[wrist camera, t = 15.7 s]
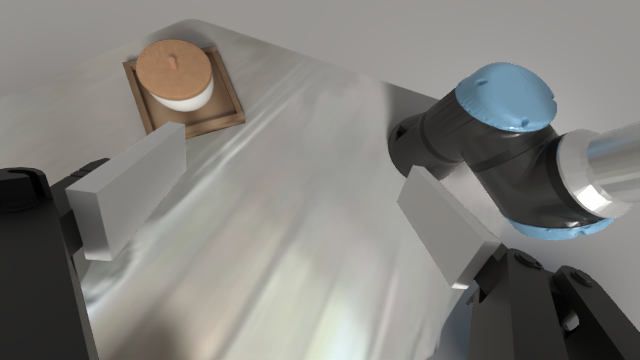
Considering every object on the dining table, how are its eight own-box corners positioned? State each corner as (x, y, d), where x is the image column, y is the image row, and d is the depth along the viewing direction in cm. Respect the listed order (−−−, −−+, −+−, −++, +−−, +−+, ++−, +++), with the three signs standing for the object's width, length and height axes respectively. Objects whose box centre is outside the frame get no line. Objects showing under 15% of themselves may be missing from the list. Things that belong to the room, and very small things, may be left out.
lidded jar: (143, 107, 44) (114, 71, 35) (174, 62, 47) (153, 19, 38) (203, 130, 45) (189, 102, 36) (228, 85, 48) (221, 48, 40)
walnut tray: (217, 54, 50) (215, 45, 48) (245, 122, 48) (244, 116, 46) (128, 71, 45) (122, 62, 43) (155, 147, 43) (149, 142, 41)
